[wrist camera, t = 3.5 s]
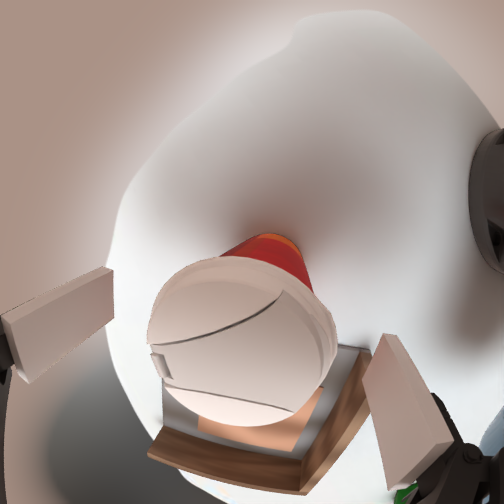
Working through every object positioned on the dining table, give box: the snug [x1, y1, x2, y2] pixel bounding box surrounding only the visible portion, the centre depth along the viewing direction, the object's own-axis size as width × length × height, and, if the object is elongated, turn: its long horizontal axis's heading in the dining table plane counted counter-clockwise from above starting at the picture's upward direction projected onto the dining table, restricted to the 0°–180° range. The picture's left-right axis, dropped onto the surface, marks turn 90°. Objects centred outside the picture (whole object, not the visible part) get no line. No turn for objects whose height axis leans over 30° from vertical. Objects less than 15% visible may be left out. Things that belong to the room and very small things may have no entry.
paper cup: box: [147, 234, 338, 427], centre depth 16 cm, size 8×8×14 cm
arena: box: [147, 345, 372, 496], centre depth 23 cm, size 20×20×6 cm
